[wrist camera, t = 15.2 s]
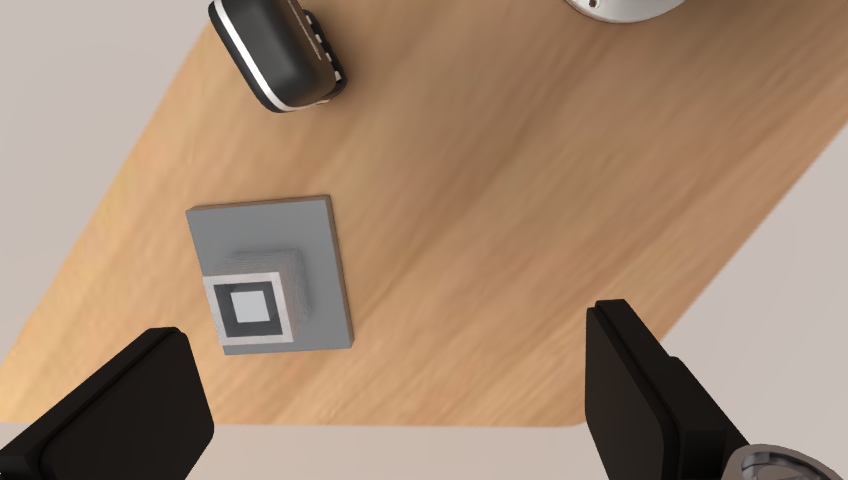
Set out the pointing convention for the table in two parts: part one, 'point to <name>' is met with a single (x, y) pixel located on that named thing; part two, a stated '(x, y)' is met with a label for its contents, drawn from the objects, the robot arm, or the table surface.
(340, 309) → the stand
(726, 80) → the table surface
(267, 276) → the collar
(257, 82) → the battery charger
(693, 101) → the table surface
